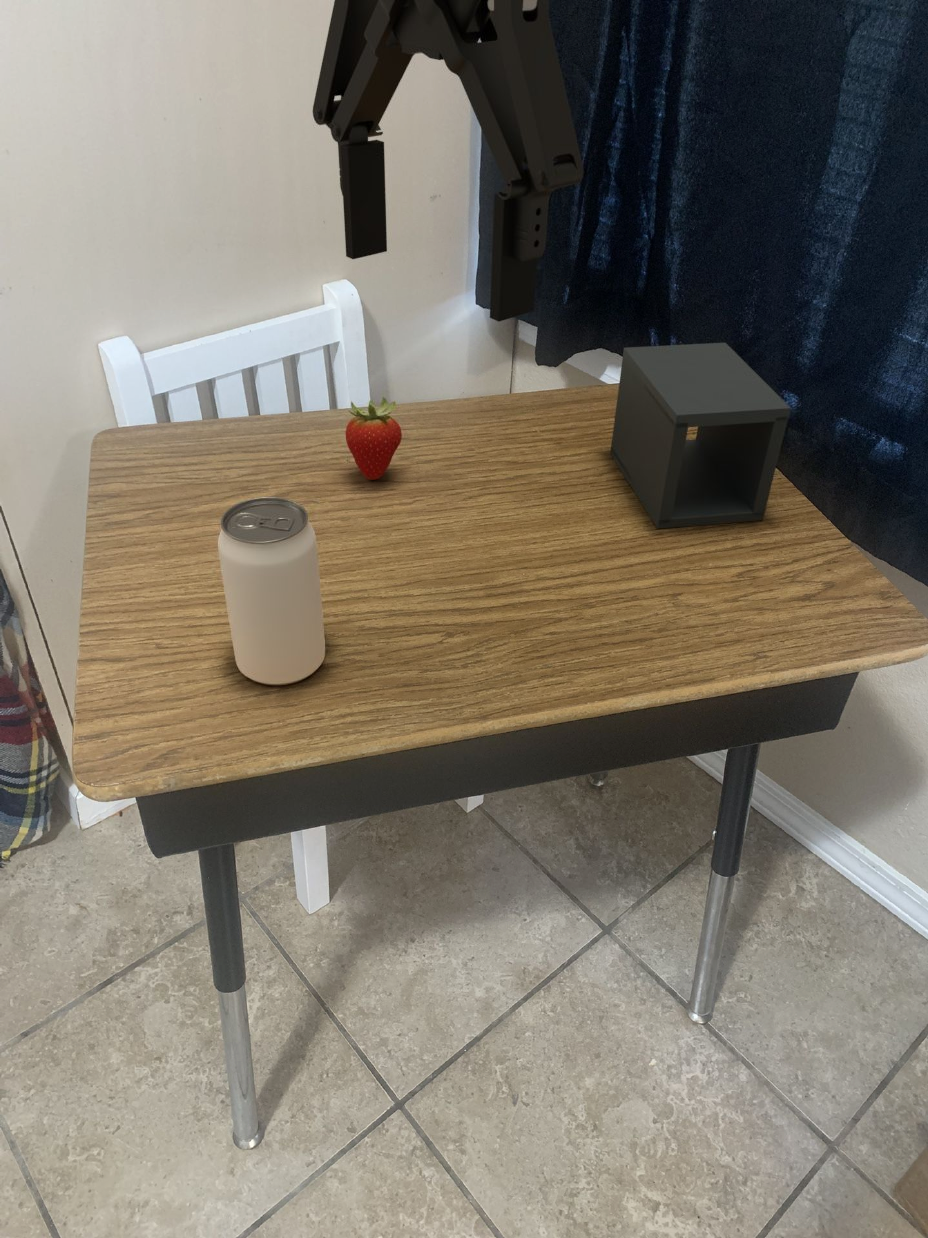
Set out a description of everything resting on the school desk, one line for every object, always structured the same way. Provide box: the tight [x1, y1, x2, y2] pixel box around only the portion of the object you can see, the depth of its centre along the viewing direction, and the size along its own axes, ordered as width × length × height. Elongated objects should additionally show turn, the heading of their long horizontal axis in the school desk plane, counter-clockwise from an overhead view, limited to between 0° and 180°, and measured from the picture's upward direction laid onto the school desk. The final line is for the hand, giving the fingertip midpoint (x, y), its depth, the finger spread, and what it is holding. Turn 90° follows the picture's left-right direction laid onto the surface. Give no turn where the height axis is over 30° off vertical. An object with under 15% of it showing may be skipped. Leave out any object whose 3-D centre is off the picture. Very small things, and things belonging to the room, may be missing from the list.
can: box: [217, 496, 326, 686], centre depth 67 cm, size 6×6×12 cm
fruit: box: [345, 396, 403, 481], centre depth 90 cm, size 5×5×8 cm
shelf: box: [610, 342, 792, 530], centre depth 89 cm, size 14×10×11 cm
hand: (434, 282), depth 59 cm, fingers open, 13 cm apart
